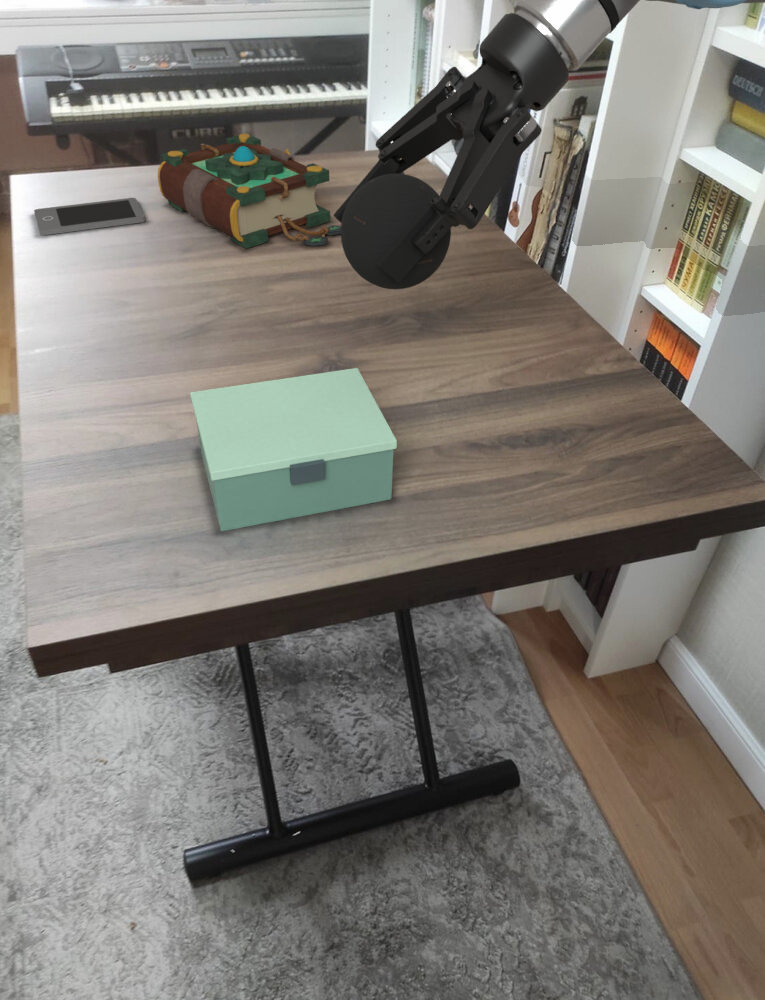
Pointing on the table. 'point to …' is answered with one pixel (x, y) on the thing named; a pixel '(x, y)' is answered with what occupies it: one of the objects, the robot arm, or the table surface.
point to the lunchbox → (293, 447)
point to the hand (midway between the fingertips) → (364, 248)
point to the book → (246, 190)
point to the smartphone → (88, 216)
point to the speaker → (387, 227)
